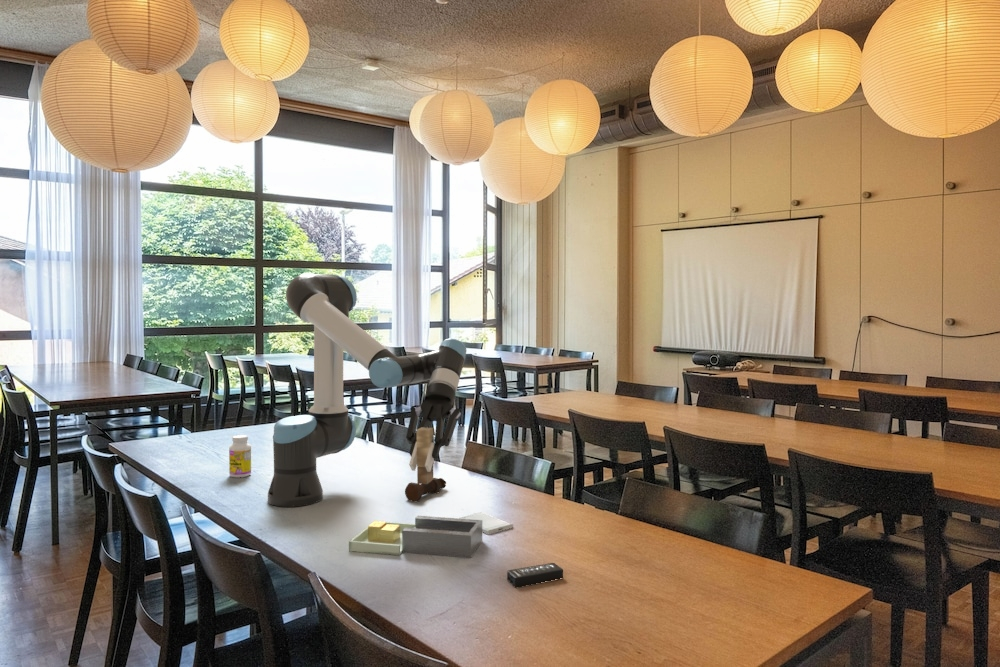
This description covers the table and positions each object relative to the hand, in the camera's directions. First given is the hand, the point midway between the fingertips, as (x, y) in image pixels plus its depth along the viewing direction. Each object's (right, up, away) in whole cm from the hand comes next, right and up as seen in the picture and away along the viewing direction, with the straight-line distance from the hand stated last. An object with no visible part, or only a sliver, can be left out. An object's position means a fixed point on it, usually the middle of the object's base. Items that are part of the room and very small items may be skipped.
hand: (419, 468), depth 163 cm
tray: (-8, -17, -2) cm, 19 cm away
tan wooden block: (-7, -16, -2) cm, 18 cm away
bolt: (-2, -16, +37) cm, 41 cm away
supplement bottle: (-65, -14, +59) cm, 89 cm away
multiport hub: (+26, -19, -24) cm, 40 cm away
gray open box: (+6, -17, -5) cm, 19 cm away
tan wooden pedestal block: (+1, -4, +4) cm, 6 cm away
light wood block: (-8, -15, -2) cm, 17 cm away
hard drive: (+15, -17, +11) cm, 25 cm away
